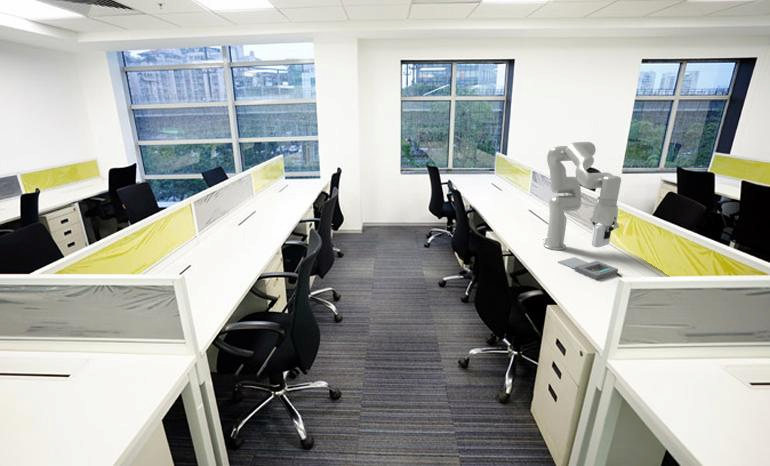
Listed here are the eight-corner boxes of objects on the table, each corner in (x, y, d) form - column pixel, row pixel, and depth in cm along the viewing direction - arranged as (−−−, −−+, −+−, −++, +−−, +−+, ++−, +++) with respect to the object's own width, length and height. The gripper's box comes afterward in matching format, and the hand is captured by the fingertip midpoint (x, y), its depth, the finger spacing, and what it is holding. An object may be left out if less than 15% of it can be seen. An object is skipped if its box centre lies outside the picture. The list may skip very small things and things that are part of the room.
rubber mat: (557, 262, 199) (557, 261, 199) (574, 257, 204) (574, 257, 204) (573, 269, 191) (573, 268, 190) (590, 264, 195) (590, 263, 195)
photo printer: (601, 241, 186) (605, 218, 182) (610, 244, 182) (614, 220, 178) (590, 246, 181) (593, 222, 177) (598, 248, 177) (602, 224, 173)
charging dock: (574, 271, 188) (575, 266, 187) (595, 265, 194) (596, 260, 193) (595, 280, 178) (596, 274, 177) (617, 273, 184) (618, 268, 183)
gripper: (586, 198, 180) (581, 233, 186) (619, 206, 165) (612, 243, 171) (597, 196, 183) (591, 230, 189) (630, 204, 168) (623, 241, 174)
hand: (601, 236), depth 180 cm, fingers closed on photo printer, 4 cm apart
